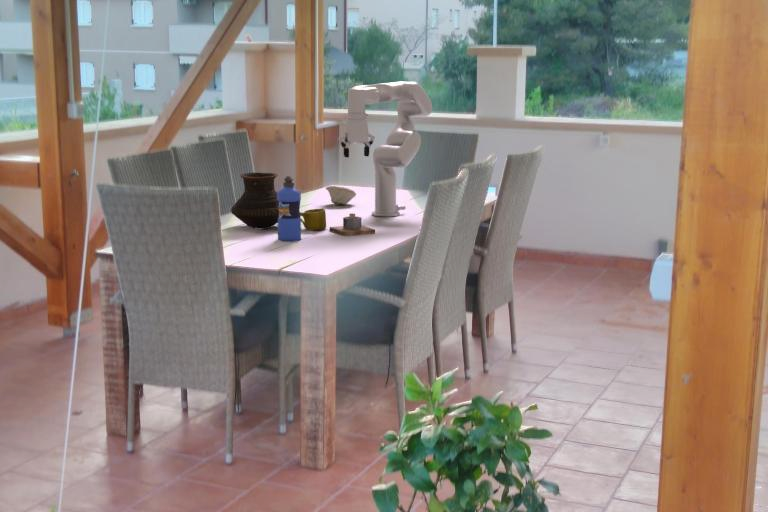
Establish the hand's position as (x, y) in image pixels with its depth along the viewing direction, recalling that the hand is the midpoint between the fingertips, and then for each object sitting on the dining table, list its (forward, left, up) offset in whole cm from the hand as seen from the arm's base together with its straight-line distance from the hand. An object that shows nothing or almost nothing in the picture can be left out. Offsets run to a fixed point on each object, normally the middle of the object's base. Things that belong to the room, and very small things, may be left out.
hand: (356, 156), depth 451 cm
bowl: (-16, -47, -28) cm, 57 cm away
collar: (+14, +23, -27) cm, 38 cm away
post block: (+14, +23, -28) cm, 39 cm away
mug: (+26, +9, -29) cm, 40 cm away
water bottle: (+44, +27, -28) cm, 59 cm away
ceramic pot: (+43, -5, -28) cm, 52 cm away
